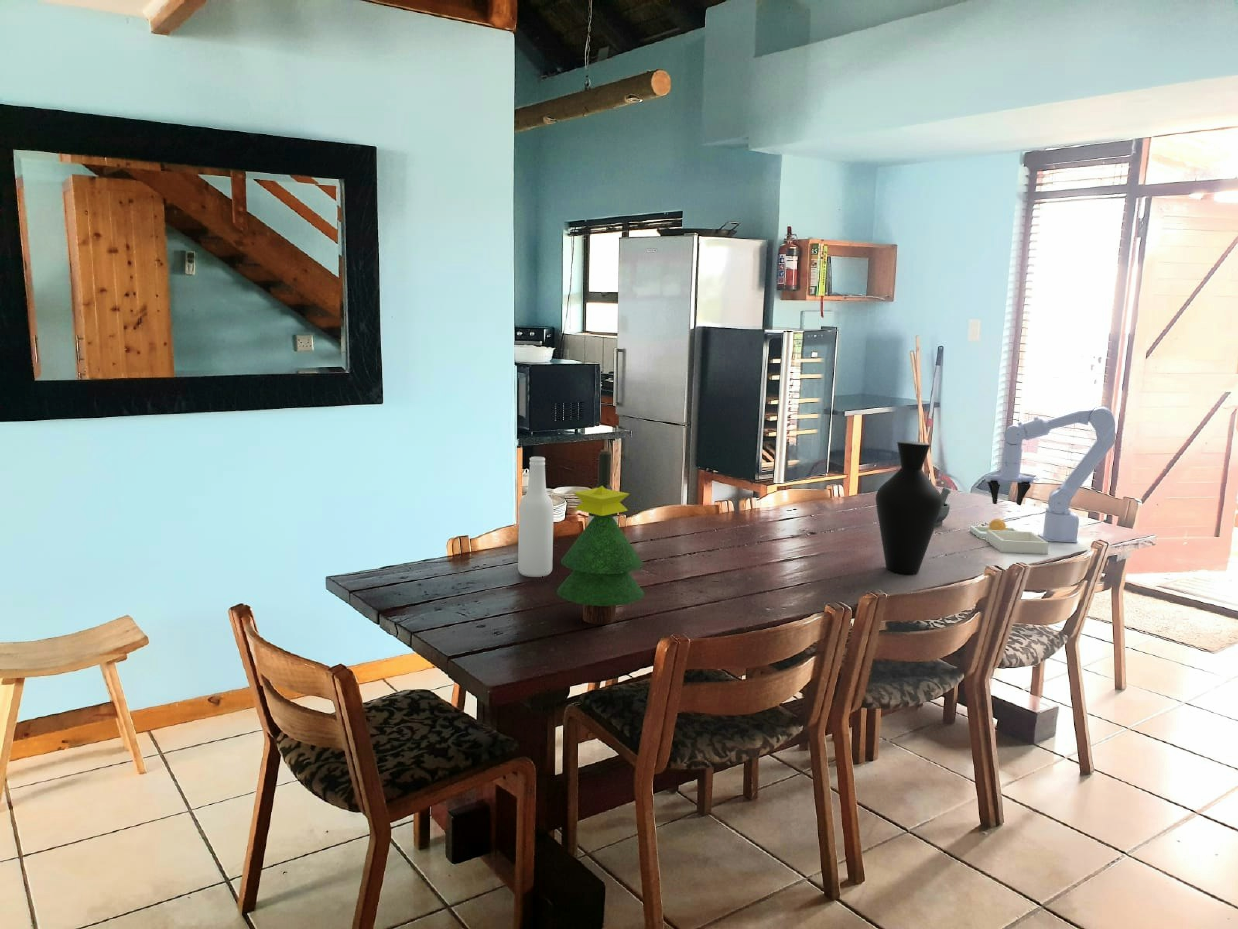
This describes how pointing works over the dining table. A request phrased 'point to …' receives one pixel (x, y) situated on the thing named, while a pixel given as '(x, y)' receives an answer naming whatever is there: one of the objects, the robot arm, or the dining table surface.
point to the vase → (907, 511)
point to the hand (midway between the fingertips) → (1006, 504)
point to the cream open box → (1017, 542)
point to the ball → (997, 525)
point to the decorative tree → (601, 560)
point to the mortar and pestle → (943, 507)
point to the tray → (984, 530)
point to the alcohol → (536, 524)
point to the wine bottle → (604, 477)
